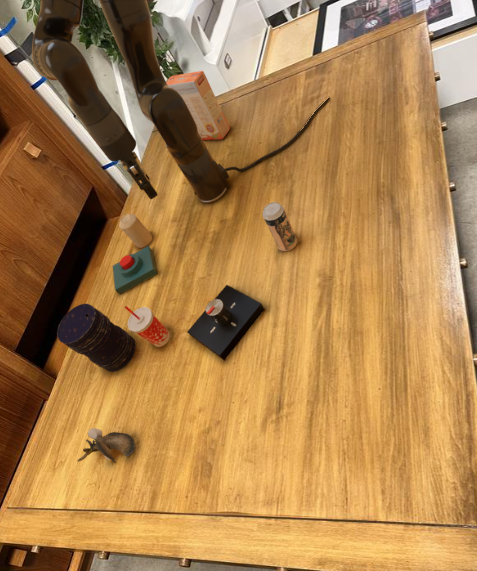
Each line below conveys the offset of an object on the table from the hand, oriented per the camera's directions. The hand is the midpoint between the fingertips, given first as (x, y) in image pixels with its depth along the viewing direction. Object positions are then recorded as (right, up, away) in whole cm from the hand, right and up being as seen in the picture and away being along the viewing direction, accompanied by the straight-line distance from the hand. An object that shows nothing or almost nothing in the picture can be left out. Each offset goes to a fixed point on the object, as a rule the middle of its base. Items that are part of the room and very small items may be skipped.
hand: (150, 188), depth 98 cm
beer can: (+34, -15, -6) cm, 38 cm away
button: (-8, -19, +8) cm, 22 cm away
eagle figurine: (-3, -58, -19) cm, 61 cm away
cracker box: (+13, +28, +38) cm, 49 cm away
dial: (+19, -31, -14) cm, 39 cm away
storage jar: (-6, -41, -4) cm, 41 cm away
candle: (-6, -11, +18) cm, 22 cm away
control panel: (+20, -33, -12) cm, 40 cm away
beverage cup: (+4, -37, -7) cm, 38 cm away
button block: (-6, -21, +11) cm, 24 cm away
